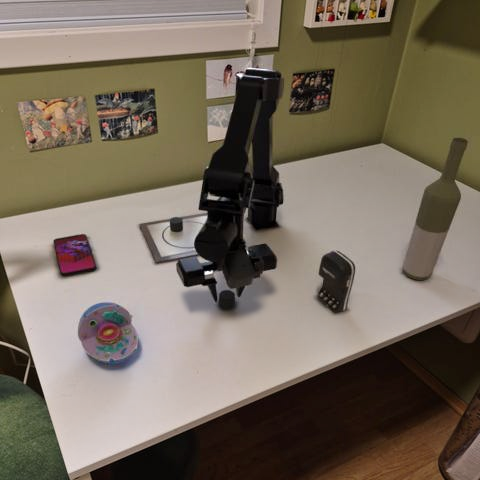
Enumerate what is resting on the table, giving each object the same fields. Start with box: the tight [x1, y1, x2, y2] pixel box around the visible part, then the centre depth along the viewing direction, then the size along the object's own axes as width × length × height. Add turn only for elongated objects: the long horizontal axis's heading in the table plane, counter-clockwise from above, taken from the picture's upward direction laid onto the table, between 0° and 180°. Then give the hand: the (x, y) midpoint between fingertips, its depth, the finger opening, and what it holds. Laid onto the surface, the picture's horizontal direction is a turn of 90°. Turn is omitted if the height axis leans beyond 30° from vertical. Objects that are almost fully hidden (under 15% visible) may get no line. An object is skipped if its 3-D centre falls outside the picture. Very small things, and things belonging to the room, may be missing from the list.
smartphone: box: [53, 233, 97, 277], centre depth 107 cm, size 8×1×15 cm
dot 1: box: [169, 216, 183, 232], centre depth 115 cm, size 3×3×2 cm
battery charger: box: [317, 250, 356, 313], centre depth 93 cm, size 7×4×11 cm, turn 31°
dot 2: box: [218, 289, 236, 310], centre depth 95 cm, size 3×3×2 cm
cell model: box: [77, 301, 139, 364], centre depth 81 cm, size 10×12×10 cm
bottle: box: [402, 137, 469, 281], centre depth 96 cm, size 7×7×30 cm
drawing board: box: [139, 212, 207, 264], centre depth 115 cm, size 20×18×1 cm
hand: (226, 298), depth 95 cm, fingers open, 5 cm apart
